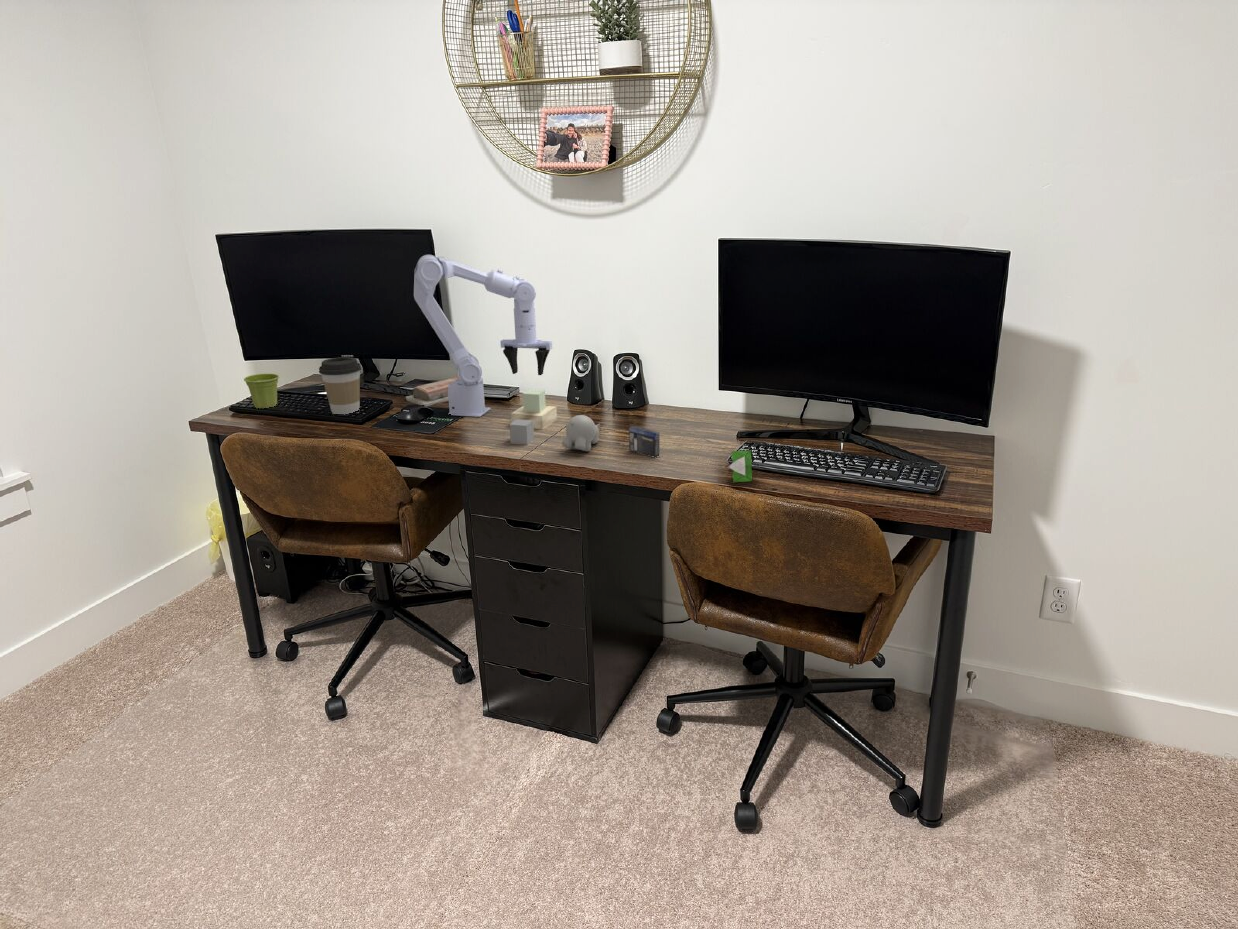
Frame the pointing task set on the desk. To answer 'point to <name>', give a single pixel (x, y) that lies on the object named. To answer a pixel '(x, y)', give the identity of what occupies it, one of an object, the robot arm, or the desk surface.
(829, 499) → the desk surface
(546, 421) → the birch block
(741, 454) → the geometric puzzle
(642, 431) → the mini dv tape
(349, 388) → the coffee cup
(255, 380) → the plant pot
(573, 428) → the round bodied animal figurine
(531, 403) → the sage cube
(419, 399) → the packaged product
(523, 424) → the grey cube
